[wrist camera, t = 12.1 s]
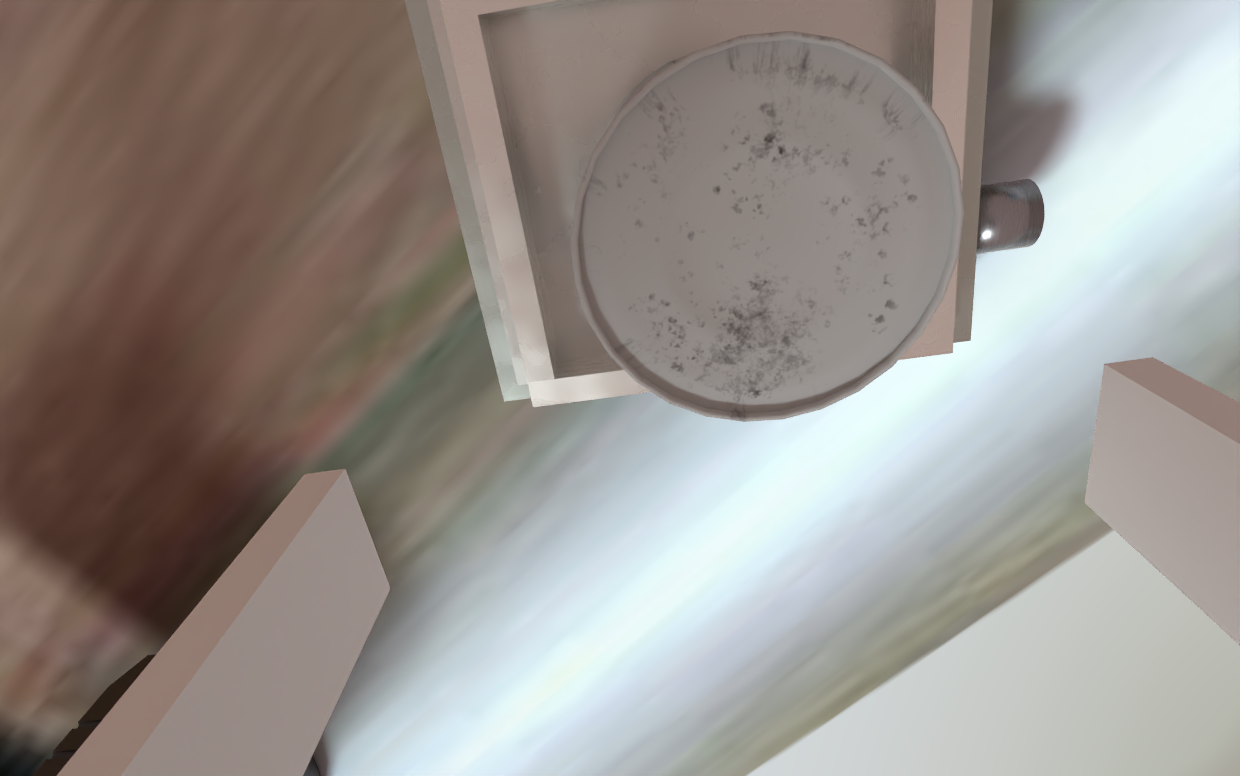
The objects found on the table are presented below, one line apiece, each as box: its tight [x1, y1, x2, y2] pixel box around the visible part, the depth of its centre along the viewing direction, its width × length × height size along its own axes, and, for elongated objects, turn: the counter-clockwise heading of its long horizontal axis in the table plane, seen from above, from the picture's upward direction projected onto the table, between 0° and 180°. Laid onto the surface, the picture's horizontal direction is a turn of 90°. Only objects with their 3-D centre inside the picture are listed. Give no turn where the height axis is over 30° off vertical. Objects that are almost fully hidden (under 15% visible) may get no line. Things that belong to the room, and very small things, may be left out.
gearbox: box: [404, 0, 1044, 407], centre depth 29 cm, size 25×18×8 cm
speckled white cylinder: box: [571, 31, 964, 422], centre depth 22 cm, size 10×10×12 cm
